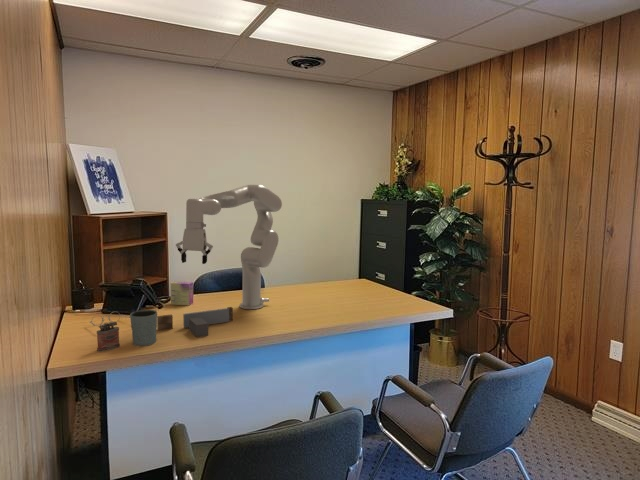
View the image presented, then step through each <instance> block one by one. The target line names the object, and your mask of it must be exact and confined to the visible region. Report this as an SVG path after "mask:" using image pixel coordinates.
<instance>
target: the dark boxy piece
mask: <svg viewBox="0 0 640 480" xmlns="http://www.w3.org/2000/svg"><path fill="white" fill-rule="evenodd" d="M188 328H189V332H190V333H191V334H192V335H193V336H194V337H196V338H202V337H207V336H209V324H208V323H207V322H206V321H205V320H204V319H202V318H201V317H198V318H191V319H189V327H188Z"/></svg>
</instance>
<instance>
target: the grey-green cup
mask: <svg viewBox="0 0 640 480" xmlns="http://www.w3.org/2000/svg"><path fill="white" fill-rule="evenodd" d="M157 316H158V311H157V310H154V309H141V310H136V311H135V310H134V311H133V312H131V313H130V314H129V317H130V327H131V328H130V329H131V335H132V344H133V345H135V346H138V347H145V346H150V345H154V344H155V343H156V342H157V331H158V327H157Z"/></svg>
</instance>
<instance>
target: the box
mask: <svg viewBox="0 0 640 480" xmlns="http://www.w3.org/2000/svg"><path fill="white" fill-rule="evenodd" d="M193 304H194V282H193V281H183V280H182V281H181V280H174V281H172V282H170V305H173V306H174V305H175V306H176V305H177V306H187V307H189V306H191V305H193Z"/></svg>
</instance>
